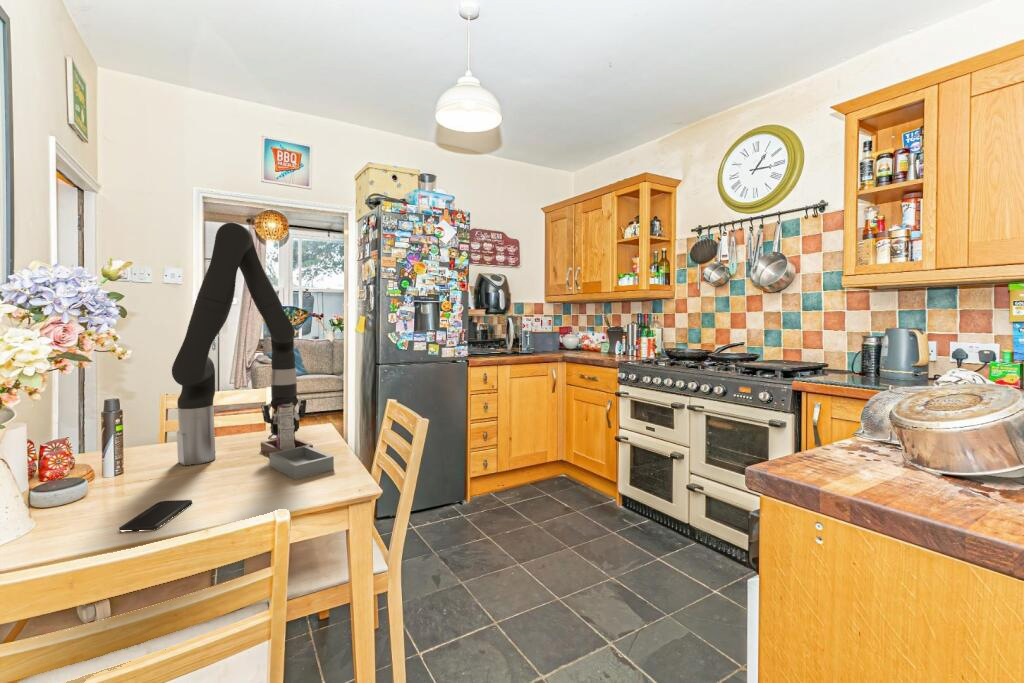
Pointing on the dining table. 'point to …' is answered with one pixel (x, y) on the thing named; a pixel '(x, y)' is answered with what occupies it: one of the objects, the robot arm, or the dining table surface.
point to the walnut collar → (272, 447)
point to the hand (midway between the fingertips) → (285, 432)
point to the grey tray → (301, 462)
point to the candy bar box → (285, 427)
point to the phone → (156, 515)
